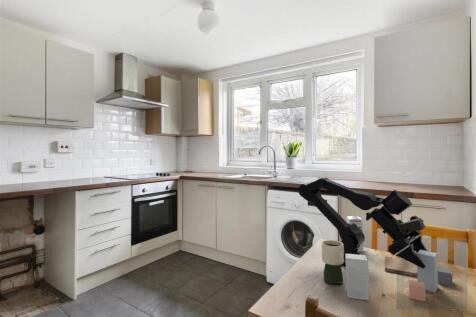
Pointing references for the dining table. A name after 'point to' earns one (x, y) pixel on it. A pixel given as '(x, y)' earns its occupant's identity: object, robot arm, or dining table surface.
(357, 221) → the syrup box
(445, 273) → the charcoal block
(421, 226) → the robot arm
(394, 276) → the dining table surface
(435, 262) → the slate block
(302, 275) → the dining table surface
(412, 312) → the dining table surface
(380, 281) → the dining table surface
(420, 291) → the terracotta block
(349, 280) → the skincare box
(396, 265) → the walnut board
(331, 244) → the character mug
